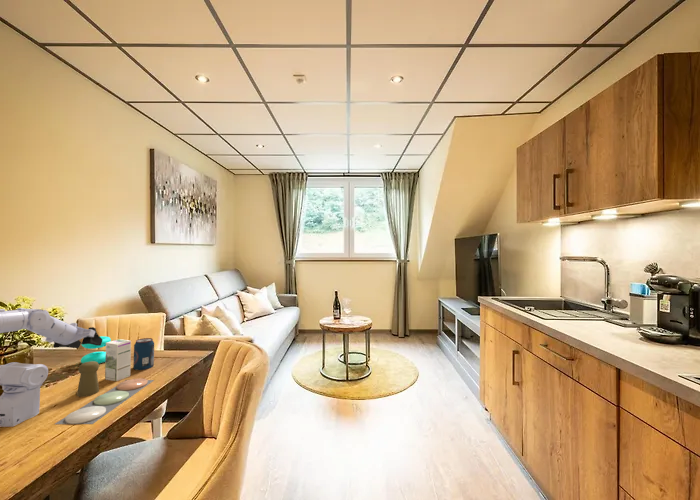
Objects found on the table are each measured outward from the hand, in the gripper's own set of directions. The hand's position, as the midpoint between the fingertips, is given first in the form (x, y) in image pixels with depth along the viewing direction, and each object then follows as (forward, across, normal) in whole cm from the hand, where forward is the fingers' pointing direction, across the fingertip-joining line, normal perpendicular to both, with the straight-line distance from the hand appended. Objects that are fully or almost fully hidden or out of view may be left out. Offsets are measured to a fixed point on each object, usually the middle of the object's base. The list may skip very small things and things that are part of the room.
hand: (89, 343), depth 110 cm
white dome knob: (-6, -13, +24) cm, 28 cm away
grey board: (+3, -12, +19) cm, 23 cm away
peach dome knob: (+11, -12, +13) cm, 20 cm away
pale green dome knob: (+2, -12, +19) cm, 22 cm away
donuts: (+29, +22, -4) cm, 37 cm away
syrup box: (+16, -2, +9) cm, 18 cm away
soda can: (+26, -4, +3) cm, 26 cm away
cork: (+5, -2, +16) cm, 17 cm away
